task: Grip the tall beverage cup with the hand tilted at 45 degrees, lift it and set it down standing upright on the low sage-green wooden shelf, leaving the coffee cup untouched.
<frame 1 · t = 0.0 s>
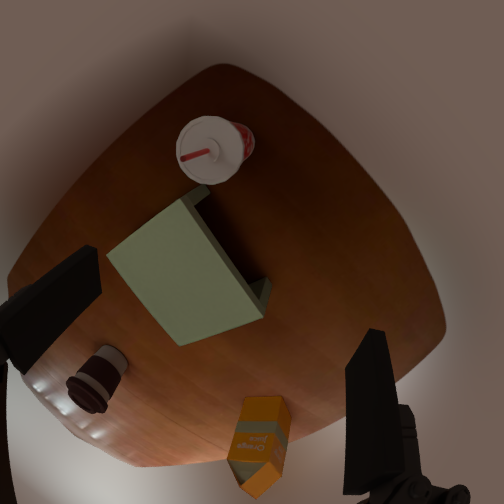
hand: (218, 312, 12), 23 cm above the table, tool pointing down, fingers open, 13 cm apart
orange juice: (269, 407, 52), on the table
shelf: (198, 258, 39), on the table
coffee cup: (115, 355, 55), on the table
beverage cup: (235, 142, 31), on the table
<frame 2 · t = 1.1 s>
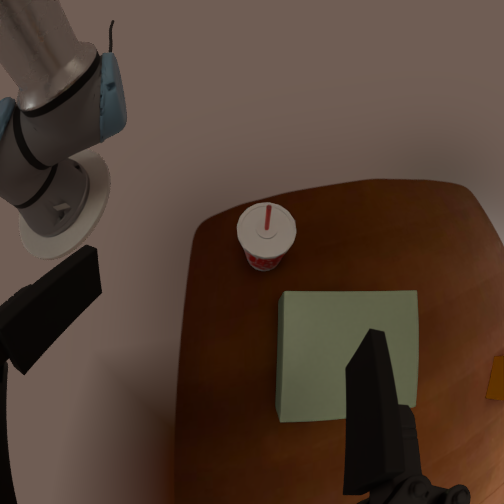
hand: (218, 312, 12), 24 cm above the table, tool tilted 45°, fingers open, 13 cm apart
orange juice: (502, 378, 31), on the table
shelf: (338, 353, 34), on the table
beverage cup: (263, 254, 38), on the table
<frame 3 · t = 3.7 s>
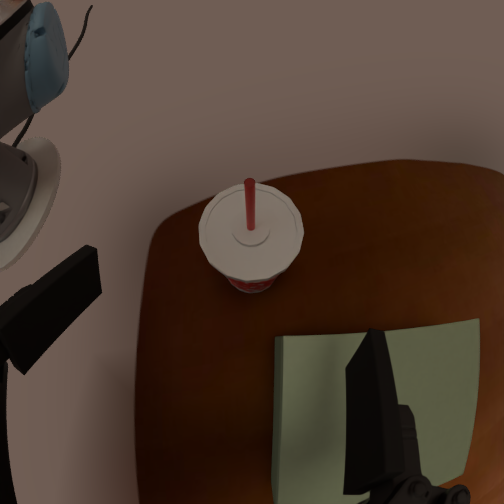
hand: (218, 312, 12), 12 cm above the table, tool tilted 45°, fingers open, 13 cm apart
shelf: (362, 408, 21), on the table
beverage cup: (252, 267, 25), on the table
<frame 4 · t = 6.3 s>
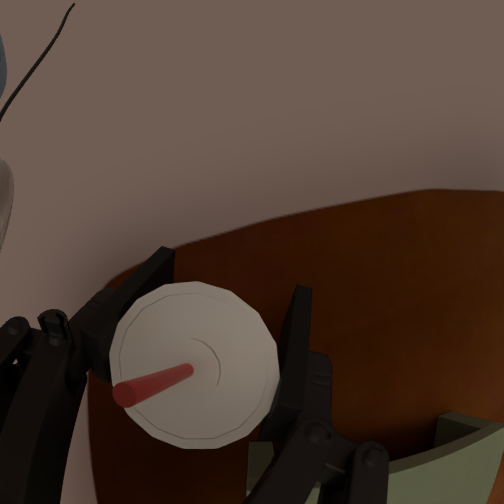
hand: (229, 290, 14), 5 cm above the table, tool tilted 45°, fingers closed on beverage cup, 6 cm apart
beverage cup: (219, 355, 17), on the table, touching gripper
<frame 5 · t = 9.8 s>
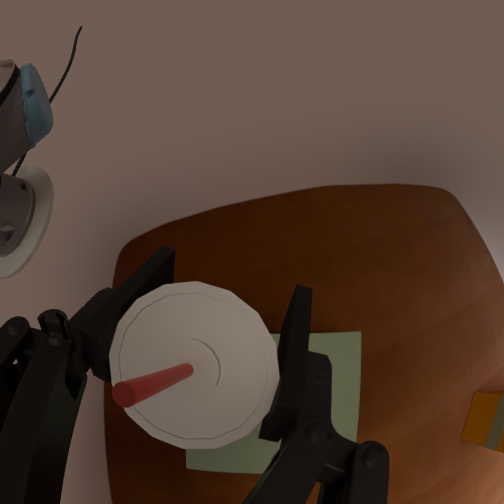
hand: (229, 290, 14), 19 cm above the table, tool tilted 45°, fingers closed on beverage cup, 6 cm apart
orange juice: (483, 414, 26), on the table
shelf: (269, 394, 29), on the table
beverage cup: (219, 355, 17), point 14 cm above the table, touching gripper
when the fingers open (12 cm above the table, at t = 13.1 s): beverage cup stays where it is, resting on shelf.
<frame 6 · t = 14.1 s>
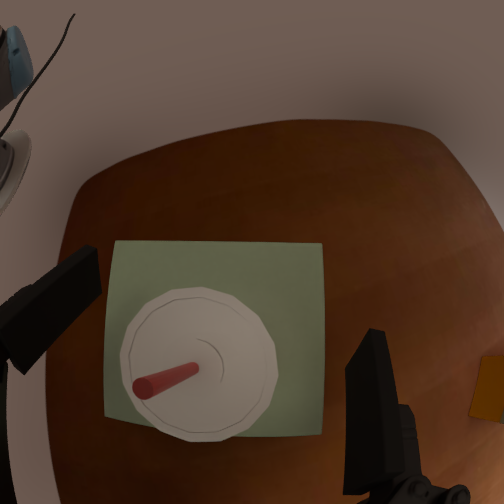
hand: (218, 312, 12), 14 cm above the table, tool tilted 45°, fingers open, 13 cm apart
orange juice: (494, 386, 22), on the table
shelf: (219, 339, 25), on the table
beverage cup: (221, 355, 18), point 7 cm above the table, touching shelf
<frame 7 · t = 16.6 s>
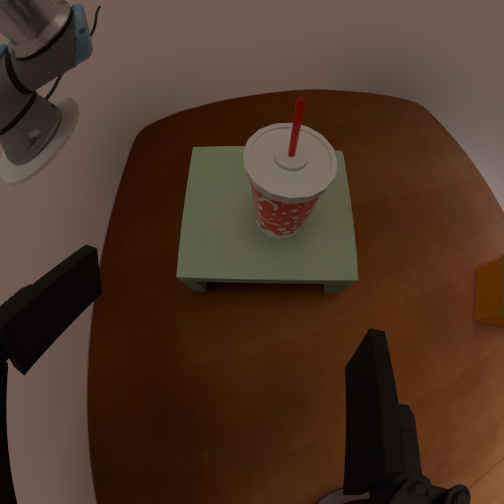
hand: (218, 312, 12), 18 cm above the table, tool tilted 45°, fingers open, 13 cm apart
orange juice: (491, 299, 30), on the table
shelf: (266, 232, 33), on the table
beverage cup: (279, 216, 26), point 7 cm above the table, touching shelf
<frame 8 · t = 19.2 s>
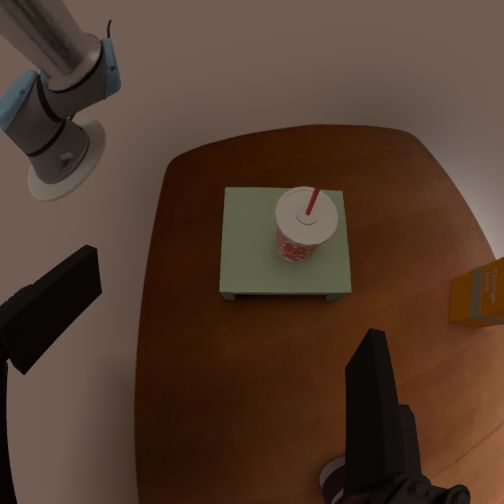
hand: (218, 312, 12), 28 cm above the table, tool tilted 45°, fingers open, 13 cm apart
orange juice: (465, 304, 39), on the table
shelf: (281, 253, 42), on the table
coffee cup: (341, 472, 31), on the table
beverage cup: (294, 245, 35), point 7 cm above the table, touching shelf
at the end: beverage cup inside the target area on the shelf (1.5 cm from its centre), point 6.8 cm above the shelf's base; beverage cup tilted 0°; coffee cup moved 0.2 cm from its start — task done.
